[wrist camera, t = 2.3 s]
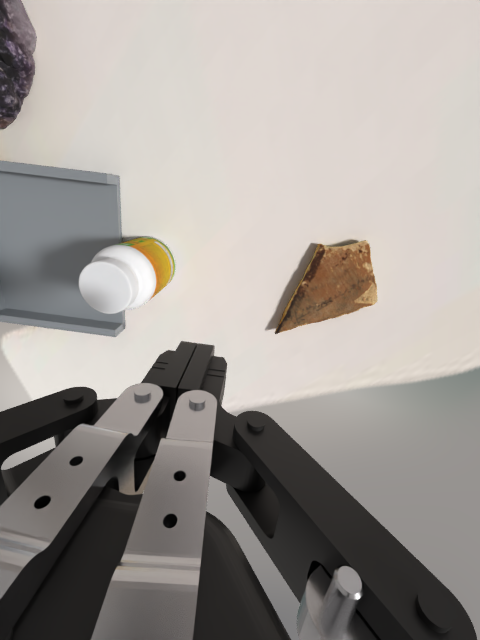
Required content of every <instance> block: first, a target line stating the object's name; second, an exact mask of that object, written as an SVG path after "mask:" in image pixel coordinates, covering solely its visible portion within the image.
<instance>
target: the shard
mask: <svg viewBox="0 0 480 640" xmlns="http://www.w3.org/2000/svg"><path fill="white" fill-rule="evenodd" d="M370 255H371V252H370V245H369V243H368V242H367V241H366V240H365V241H360V242H358V243H355V244H350V245H346V246H341V247H330V246H325V245H322V244H318V246H317V248H316V251H315V253H314V256H313V258H312V260H311V262H310V264H309V265H308V267H307V269H306V271H305V274H304V277H303V278H302V280H301V282H300V283H299V285H298V287H297V289H296V290H295V292H294V294H293V296H292V298H291V300H290V302H289V304H288V305H287V307H286V308H285V311H284V313H283V316H282V319H281V320H280V324H279V325H278V327H277V329H276V331H275V334H277V333H280V332H283V331H287V330H291V329H293V328H296V327H298V326H302V325H306V324H310V323H316V322H321V321H324V320H327V319H330V318H336V317H339V316H342V315H344V314H349V313H352V312H355V311H358V310H359V309H360V308H363V307H367V306H371V305H374V304H375V303H376V302H377V286H376V282H375V276H374V274H373V268H372V263H371V257H370Z"/></svg>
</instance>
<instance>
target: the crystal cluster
mask: <svg viewBox="0 0 480 640" xmlns="http://www.w3.org/2000/svg"><path fill="white" fill-rule="evenodd" d="M36 38H37V37H36V33H35V30H34V28H33V26H32V24H31V21H30V19H29V17H28V15H27V13H26V10H25V8H24V5H23V3H22V1H21V0H0V128H6V127H7V126H8V125H9V124H11V123H12V122H13V121H14V120H15V119H16V117H17V115H18V113H19V112H20V110H21V106H22V104H23V100H24V97H26V96H27V95H28V94H29V91H30V88H31V85H32V81H33V75H34V74H35V62H34V59H33V56H32V54H33V52H34V50H35V46H36Z"/></svg>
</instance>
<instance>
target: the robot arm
mask: <svg viewBox="0 0 480 640" xmlns="http://www.w3.org/2000/svg"><path fill="white" fill-rule="evenodd" d="M226 370H227V363H226V361H225V359H224V358H223V357H216V356H214V345H207V344H199V343H198V344H197V343H191V342H184V341H181V342H180V344H179V346H178V348H177V349H176V351H171V350H168V351H166V352H164V353H163V354H161V355H160V356H159V357H158V359H157V360H156V362H155V363H154V364H153V366H152V368H151V369H150V370H149V372H148V373H147V375H146V376H145V378H144V379H143V381H142V382H141V383H140V384H135V385H132V386H130V387H128V388H127V389H126V390H125V391H124V392H123V393H122V394H121V395H120V396H119V397H118V398H115V399H103V400H97V394H96V392H95V391H94V390H93V389H91V388H87V387H73V388H69V389H65V390H62V391H60V392H57V393H54V394H51V395H48V396H45V397H42V398H39V399H36V400H34V401H31V402H28V403H25V404H22V405H19V406H16V407H13V408H10V409H7V410H5V411H2V412H0V640H291V639H290V637H289V635H288V633H287V632H286V629H285V628H284V626H283V624H282V622H281V620H280V619H279V617H278V615H277V613H276V611H275V609H274V608H273V606H272V604H271V602H270V600H269V599H268V597H267V595H266V593H265V592H264V589H263V588H262V586H261V584H260V582H259V580H258V578H257V577H256V575H255V573H254V571H253V570H252V567H251V566H250V564H249V562H248V560H247V558H246V556H245V555H244V553H243V551H242V549H241V548H240V546H239V544H238V542H237V540H236V538H235V537H234V536H233V534H232V533H231V531H230V530H229V529H228V528H227V527H226V526H225V525H224V524H223V523H222V522H221V521H220V520H218V519H217V518H216V517H215V516H213V515H212V514H210V513H208V512H207V511H206V506H207V497H208V487H209V477H210V476H212V477H214V478H216V479H218V480H220V481H222V482H224V483H226V488H227V491H228V494H229V495H230V497H231V498H232V500H233V501H234V503H235V504H236V506H237V507H238V509H239V511H240V512H241V514H242V515H243V517H244V518H245V519H246V521H247V523H248V524H249V526H250V527H251V529H252V530H253V532H254V534H255V535H256V536H257V538H258V539H259V541H260V543H261V544H262V546H263V547H264V549H265V550H266V552H267V553H268V555H269V556H270V558H271V560H272V561H273V563H274V564H275V566H276V567H277V568H278V570H279V572H280V573H281V575H282V576H283V578H284V579H285V581H286V582H287V584H288V585H289V587H290V589H291V590H292V592H293V593H294V595H295V596H296V597H297V599H298V601H299V602H300V606H299V609H298V613H297V631H298V636H299V639H300V640H477V637H476V633H475V630H474V627H473V624H472V622H471V620H470V618H469V616H468V614H467V613H466V611H465V609H464V608H463V606H462V605H461V603H460V602H459V601H458V600H457V598H456V597H455V596H454V595H453V594H452V593H451V592H450V591H449V589H447V588H446V587H445V586H444V585H443V584H442V583H441V582H440V581H439V580H438V579H437V578H436V577H435V576H434V575H433V574H432V573H431V572H430V571H429V570H428V569H427V568H426V567H425V566H424V565H423V564H422V563H421V562H420V561H419V560H418V559H416V558H415V557H414V556H413V555H412V554H411V553H410V552H409V551H408V550H407V549H406V548H405V547H404V546H403V545H402V544H401V543H400V542H399V541H398V540H397V539H396V538H395V537H394V536H393V535H392V534H391V533H390V532H389V531H388V530H387V529H385V528H384V527H383V526H382V525H381V524H380V523H379V522H378V521H377V520H376V519H375V518H374V517H373V516H372V515H371V514H370V513H369V512H368V511H367V510H366V509H365V508H364V507H363V506H362V505H361V504H360V503H359V502H358V501H357V500H355V499H354V498H353V497H352V496H351V495H350V494H349V493H348V492H347V491H346V490H345V489H344V488H343V487H342V486H341V485H340V484H339V483H338V482H337V481H336V480H335V479H334V478H333V477H332V476H331V475H330V474H329V473H328V472H326V471H325V470H324V469H323V468H322V467H321V466H320V465H319V464H318V463H317V462H316V461H315V460H314V459H313V458H312V457H311V456H310V455H309V454H308V453H307V452H306V451H305V450H304V449H302V447H301V446H300V445H299V444H298V443H296V442H295V441H294V440H293V439H292V438H291V437H290V436H289V435H288V434H287V433H286V432H285V431H284V430H283V429H282V428H281V427H280V426H279V425H278V424H277V423H276V422H275V421H274V420H273V419H272V418H270V417H269V416H268V415H266V414H264V413H261V412H258V411H246V412H243V413H241V414H239V415H238V416H237V417H236V416H233V415H231V414H229V413H228V412H226V411H225V410H224V409H223V408H222V406H221V405H222V400H223V395H224V388H225V379H226ZM53 436H54V438H55V445H56V448H53V449H51V450H49V451H47V452H45V453H43V454H41V455H38V456H36V457H35V458H32V459H30V460H28V461H26V462H23V463H21V464H19V465H17V466H15V467H13V468H10V469H7V470H1V466H2V464H3V462H4V461H5V460H6V459H7V458H8V457H9V456H11V455H12V454H14V453H16V452H19V451H21V450H23V449H26V448H28V447H30V446H32V445H35V444H37V443H39V442H42V441H44V440H46V439H48V438H51V437H53ZM143 492H144V493H143Z"/></svg>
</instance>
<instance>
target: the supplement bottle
mask: <svg viewBox="0 0 480 640" xmlns="http://www.w3.org/2000/svg"><path fill="white" fill-rule="evenodd" d="M175 270H176V261H175V257H174V255H173V253H172V251H171V250H170V248H169V247H168V246H167V245H166V244H165V243H164V242H162V241H161V240H159V239H157V238H154V237H140V238H136V239H133V240H129V241H126V242H123V243H119V244H116V245H112V246H109V247H106V248H104V249H102V250H101V251H99V252H98V253H97V254H96V255H95V256H94V258H93V259H92V261H91V263H90V264H88V265H87V266H86V267H84V269H83V270H82V272H81V274H80V277H79V289H80V292H81V295H82V297H83V298H84V300H85V301H86V302H87V303H88V304H89V305H90V306H91V307H92V308H94V309H95V310H97V311H99V312H102V313H107V314H114V313H118V312H121V311H123V310H132V309H136V308H139V307H141V306H142V305H144V304H145V303H147V302H148V301H149V300H150V299H151V298H152V297H154V296H155V295H156V294H157V293H158V292H159V291H161V290H162V289H163V288H164V287H165V286H166V285H167V284H168V283H169V282H170V281H171V280H172V278H173V277H174V274H175Z"/></svg>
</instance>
